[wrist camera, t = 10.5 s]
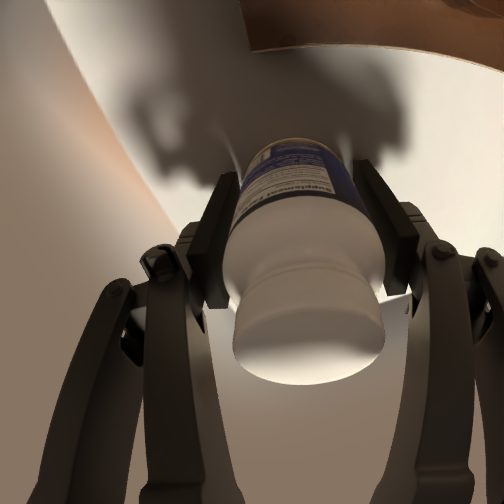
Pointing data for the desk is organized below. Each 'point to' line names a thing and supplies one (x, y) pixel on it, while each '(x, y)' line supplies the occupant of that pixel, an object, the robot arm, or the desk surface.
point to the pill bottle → (303, 268)
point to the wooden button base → (381, 26)
